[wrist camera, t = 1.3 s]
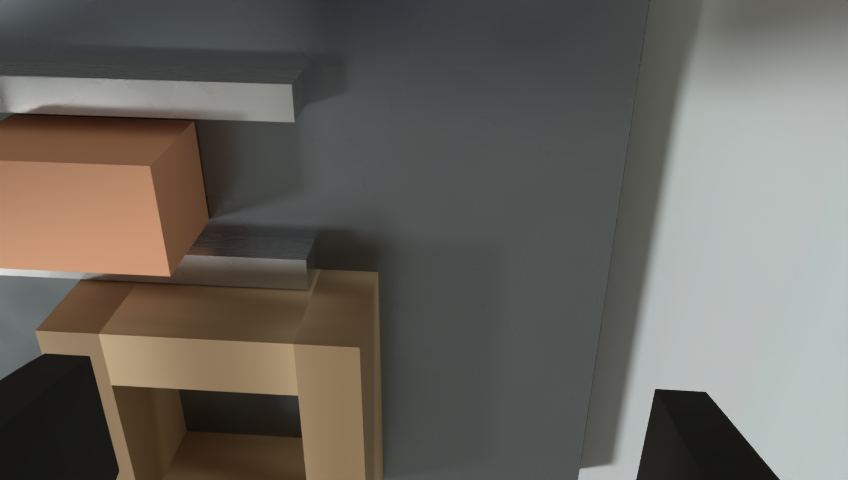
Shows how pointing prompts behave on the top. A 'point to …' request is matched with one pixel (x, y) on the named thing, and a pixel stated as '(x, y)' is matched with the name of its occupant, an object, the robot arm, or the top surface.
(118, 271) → the orange rectangular block
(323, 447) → the frame
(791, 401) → the top surface
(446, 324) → the slate board
